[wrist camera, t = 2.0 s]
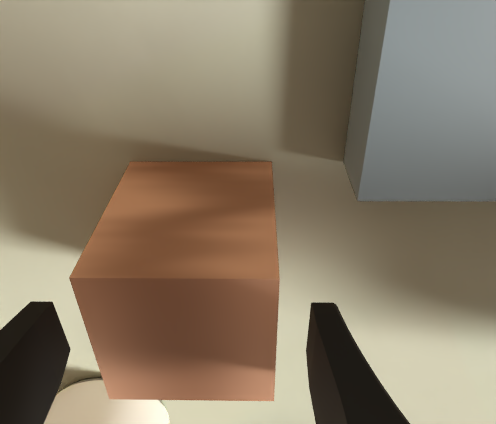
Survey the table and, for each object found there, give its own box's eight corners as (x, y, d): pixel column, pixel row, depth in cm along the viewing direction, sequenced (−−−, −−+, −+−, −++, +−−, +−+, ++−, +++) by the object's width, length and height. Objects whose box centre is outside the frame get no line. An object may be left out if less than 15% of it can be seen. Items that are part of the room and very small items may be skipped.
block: (271, 160, 15) (279, 278, 10) (268, 267, 18) (273, 400, 13) (130, 160, 15) (69, 277, 10) (149, 267, 18) (109, 399, 13)
